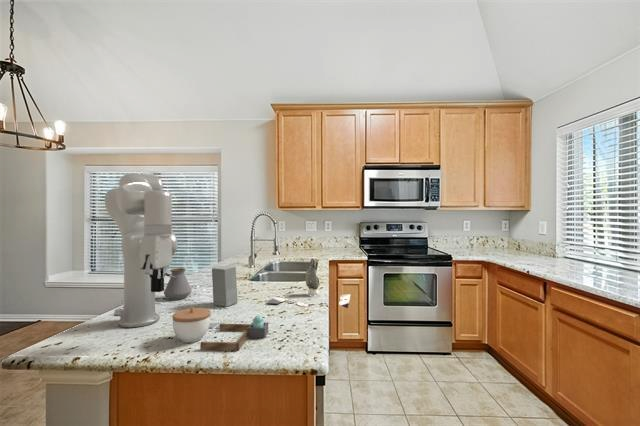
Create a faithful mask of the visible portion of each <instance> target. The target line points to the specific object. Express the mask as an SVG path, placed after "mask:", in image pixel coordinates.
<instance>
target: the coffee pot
mask: <svg viewBox="0 0 640 426" xmlns="http://www.w3.org/2000/svg"><path fill="white" fill-rule="evenodd" d="M186 270H187V269H186V268H183V267H181V268H180V267H179V268H172V269H170V272H171V274H169V273H167V272H165V277H166V276H167V277H170V278H169V280H168V282H167V284H166V286H165V288H164V292H163V295H164V296H165V297H166V298H168V300H170V301H178V300H180V301H181V300H184V299H186V298H188V296H190V294H191V293H192V287H191V285H190V284H189V282H188V279H187V277H186V275H185V272H186Z"/></svg>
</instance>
